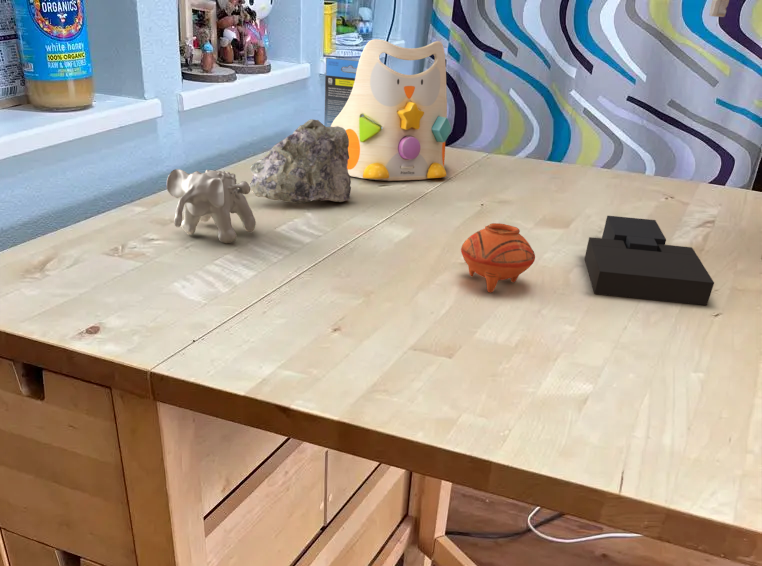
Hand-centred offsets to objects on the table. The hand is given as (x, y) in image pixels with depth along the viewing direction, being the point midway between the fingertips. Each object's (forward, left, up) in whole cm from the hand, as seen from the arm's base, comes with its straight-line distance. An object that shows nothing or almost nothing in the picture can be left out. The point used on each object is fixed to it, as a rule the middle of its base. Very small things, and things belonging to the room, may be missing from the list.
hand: (758, 18), depth 93 cm
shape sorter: (+42, -16, -24) cm, 51 cm away
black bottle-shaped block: (+10, +13, -24) cm, 29 cm away
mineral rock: (+53, +3, -24) cm, 58 cm away
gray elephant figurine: (+60, +23, -24) cm, 69 cm away
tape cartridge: (+52, -37, -24) cm, 68 cm away
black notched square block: (+10, +22, -24) cm, 34 cm away
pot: (+27, +28, -24) cm, 46 cm away
